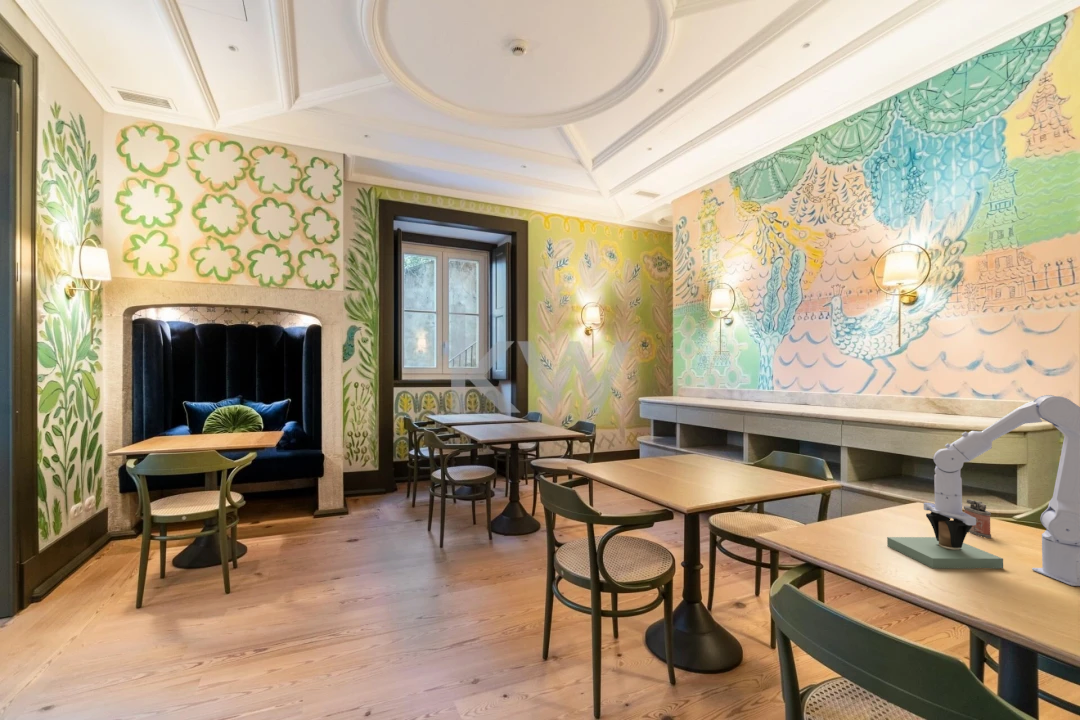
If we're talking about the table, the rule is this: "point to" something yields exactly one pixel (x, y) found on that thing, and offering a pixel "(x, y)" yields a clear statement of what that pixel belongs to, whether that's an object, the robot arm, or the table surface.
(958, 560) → the board
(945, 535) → the peg
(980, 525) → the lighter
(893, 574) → the table surface
